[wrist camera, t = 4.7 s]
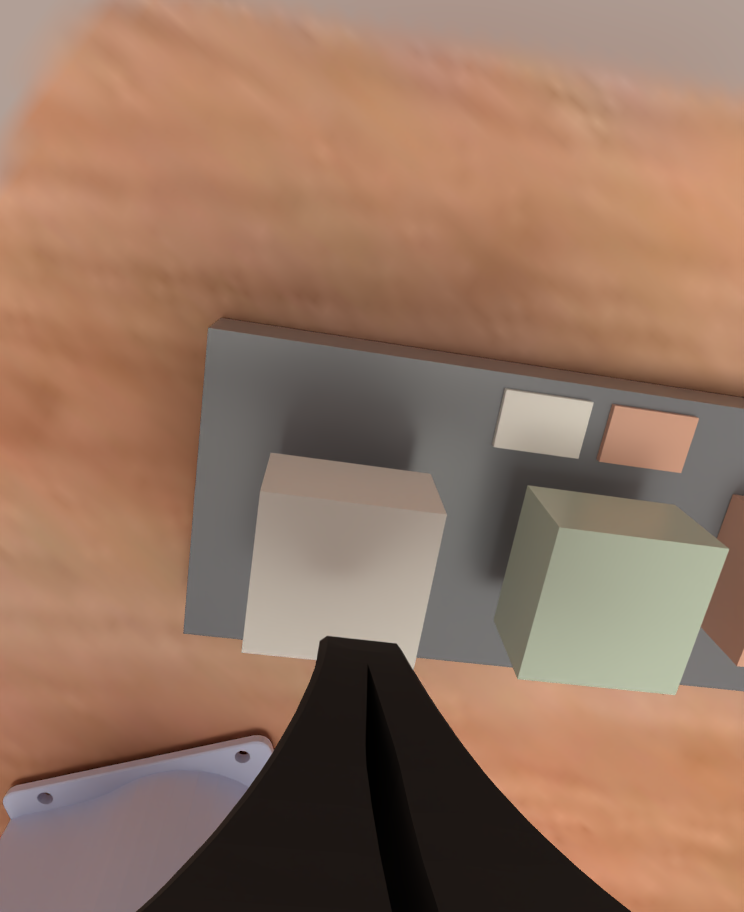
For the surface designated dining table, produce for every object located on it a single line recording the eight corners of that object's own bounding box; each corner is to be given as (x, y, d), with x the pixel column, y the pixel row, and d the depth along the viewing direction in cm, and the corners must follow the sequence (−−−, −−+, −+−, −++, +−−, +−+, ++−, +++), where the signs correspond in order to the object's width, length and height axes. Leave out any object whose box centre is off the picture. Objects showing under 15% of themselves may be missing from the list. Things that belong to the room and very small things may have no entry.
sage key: (493, 620, 18) (517, 679, 16) (527, 485, 17) (559, 527, 14) (631, 635, 18) (675, 695, 16) (674, 505, 17) (729, 548, 15)
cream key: (253, 594, 17) (241, 652, 15) (270, 452, 16) (260, 491, 14) (402, 611, 18) (413, 670, 15) (430, 473, 17) (446, 514, 14)
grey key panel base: (196, 597, 21) (182, 637, 19) (220, 317, 18) (206, 328, 16) (795, 662, 23) (840, 704, 21) (899, 421, 21) (963, 443, 18)
